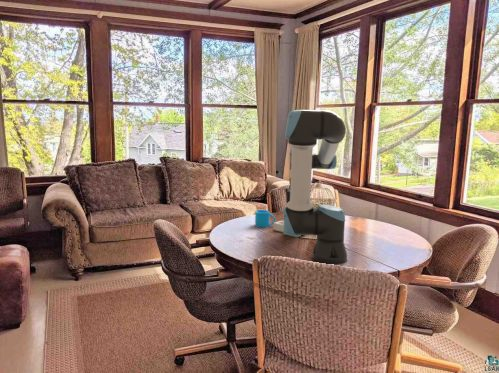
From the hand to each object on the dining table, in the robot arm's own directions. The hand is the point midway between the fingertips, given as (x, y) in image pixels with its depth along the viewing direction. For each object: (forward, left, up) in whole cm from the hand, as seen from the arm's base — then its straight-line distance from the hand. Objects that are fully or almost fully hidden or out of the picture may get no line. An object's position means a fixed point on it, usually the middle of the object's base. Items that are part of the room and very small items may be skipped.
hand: (295, 221), depth 218 cm
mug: (+23, -3, -7) cm, 24 cm away
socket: (0, 0, -7) cm, 7 cm away
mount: (+10, -2, -7) cm, 12 cm away
